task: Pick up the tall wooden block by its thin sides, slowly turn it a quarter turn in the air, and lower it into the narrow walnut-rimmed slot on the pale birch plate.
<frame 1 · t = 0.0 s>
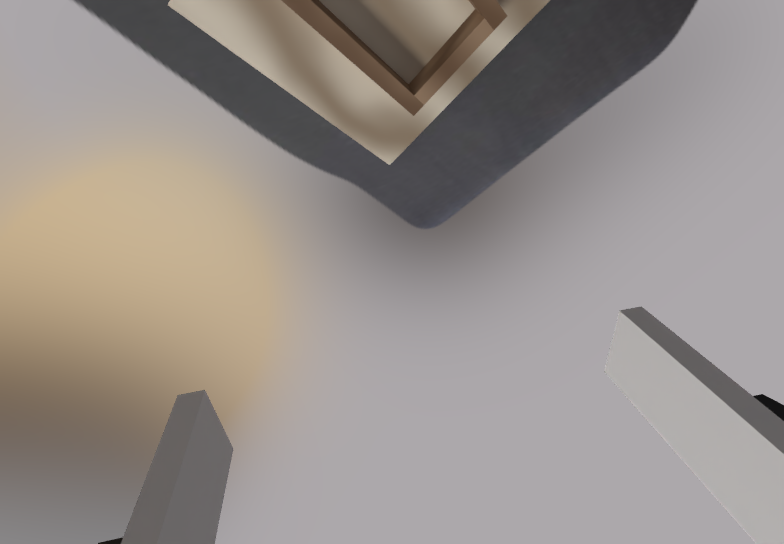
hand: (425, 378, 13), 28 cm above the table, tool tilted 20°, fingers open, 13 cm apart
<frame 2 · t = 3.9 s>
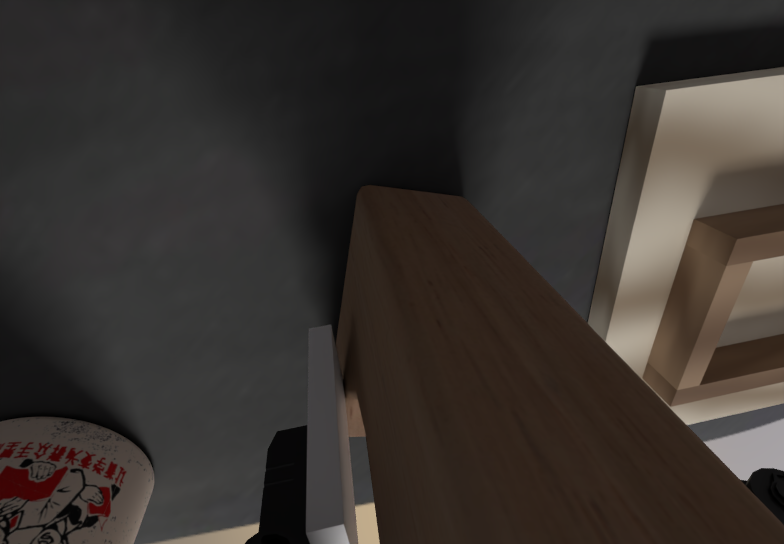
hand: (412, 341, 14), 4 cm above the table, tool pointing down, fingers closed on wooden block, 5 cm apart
wooden block: (393, 282, 18), on the table, touching gripper
teacup with lid: (28, 467, 19), on the table
keyed plate: (766, 268, 21), on the table
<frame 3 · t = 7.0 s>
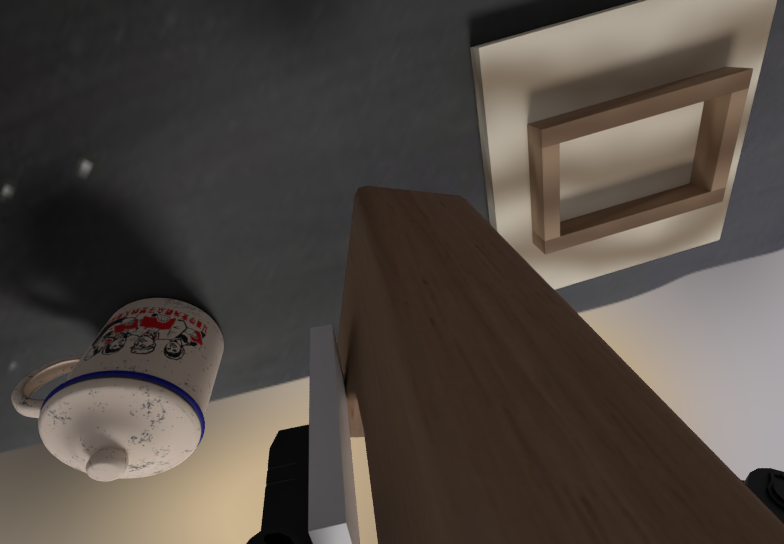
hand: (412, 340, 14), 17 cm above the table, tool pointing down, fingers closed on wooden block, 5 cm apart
wooden block: (393, 283, 18), point 13 cm above the table, touching gripper
teacup with lid: (149, 337, 32), on the table
keyed plate: (608, 156, 31), on the table
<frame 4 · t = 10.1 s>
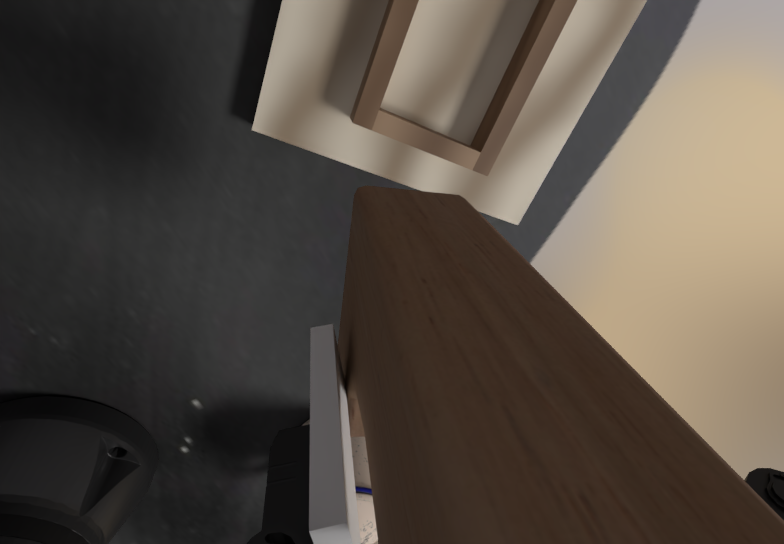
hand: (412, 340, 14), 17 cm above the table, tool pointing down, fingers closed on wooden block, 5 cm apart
wooden block: (393, 283, 18), point 13 cm above the table, touching gripper
teacup with lid: (326, 443, 42), on the table
keyed plate: (458, 26, 24), on the table
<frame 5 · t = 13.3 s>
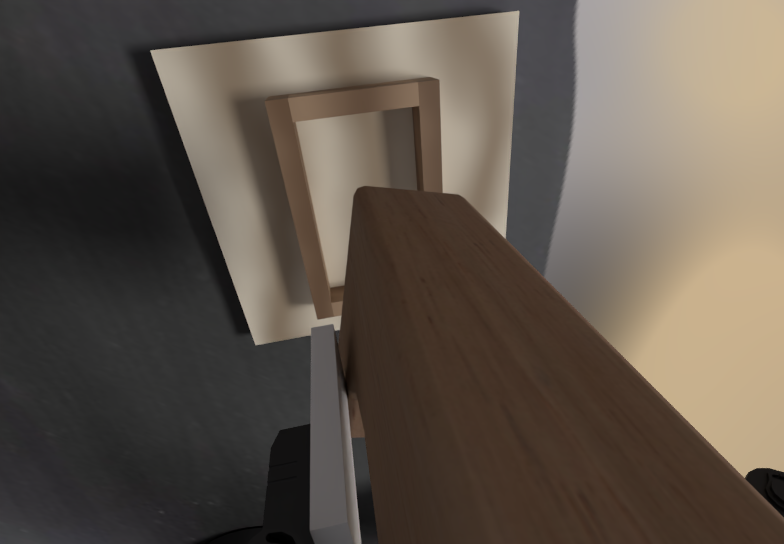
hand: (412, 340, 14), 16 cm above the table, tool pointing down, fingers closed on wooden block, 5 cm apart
wooden block: (393, 283, 18), point 12 cm above the table, touching gripper
keyed plate: (364, 196, 28), on the table
when the fingers open (6 cm above the table, at t = 16.3 s): wooden block stays where it is, resting on keyed plate.
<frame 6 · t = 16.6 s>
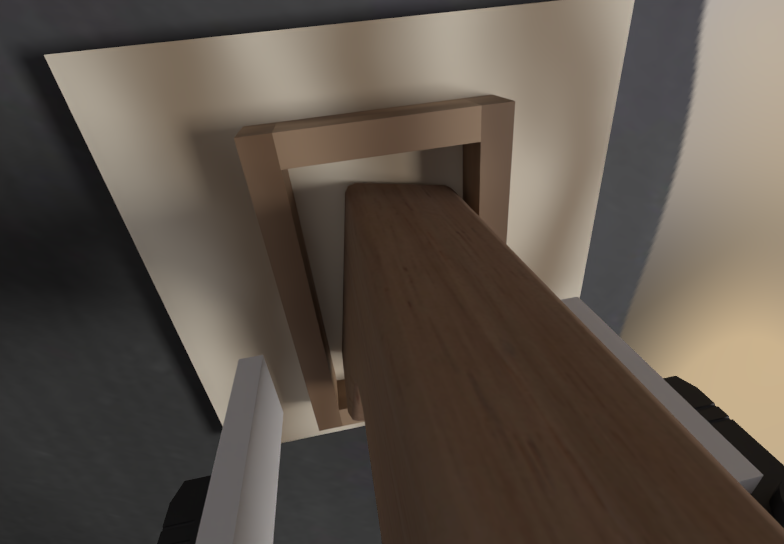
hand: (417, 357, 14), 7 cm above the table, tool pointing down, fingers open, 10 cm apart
wooden block: (390, 273, 19), point 1 cm above the table, touching keyed plate
keyed plate: (385, 259, 20), on the table
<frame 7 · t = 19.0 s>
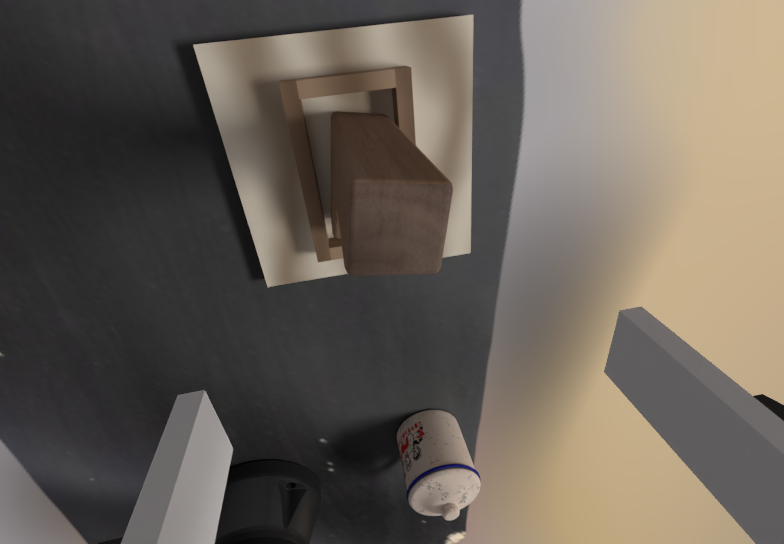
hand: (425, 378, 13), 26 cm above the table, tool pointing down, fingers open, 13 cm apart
wooden block: (357, 168, 33), point 1 cm above the table, touching keyed plate
teacup with lid: (423, 435, 55), on the table
keyed plate: (355, 163, 34), on the table
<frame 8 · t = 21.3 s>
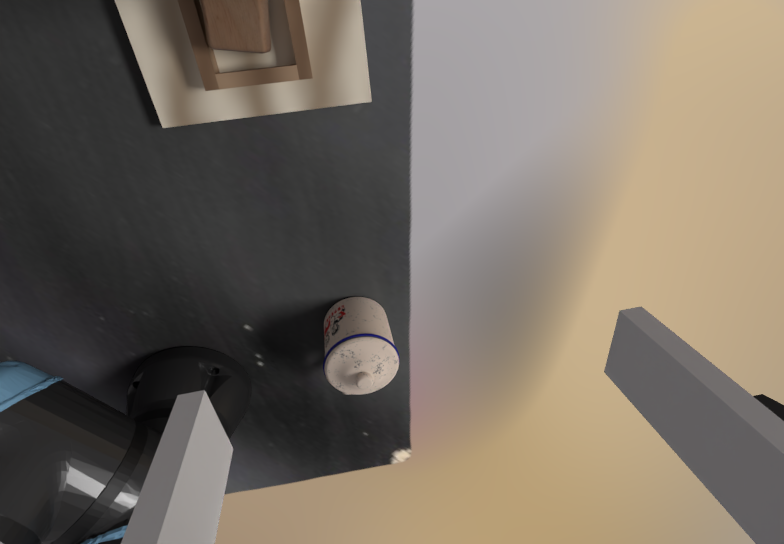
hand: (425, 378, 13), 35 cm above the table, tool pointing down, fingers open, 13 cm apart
teacup with lid: (352, 329, 55), on the table
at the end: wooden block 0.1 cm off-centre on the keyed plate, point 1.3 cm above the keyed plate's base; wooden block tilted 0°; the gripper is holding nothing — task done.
